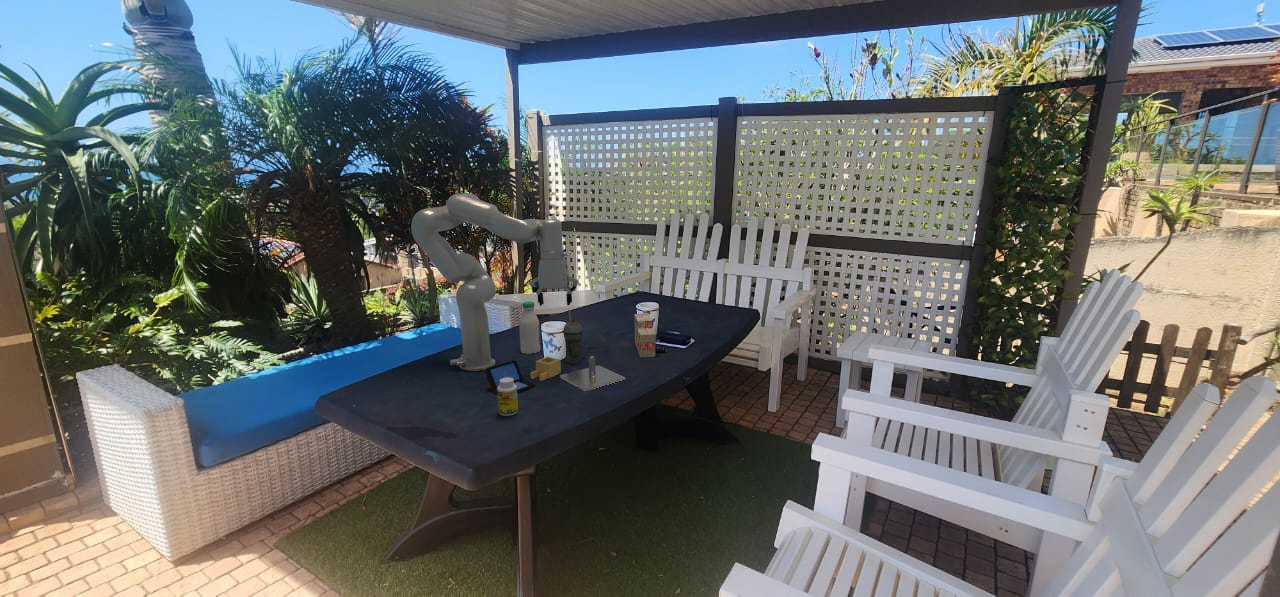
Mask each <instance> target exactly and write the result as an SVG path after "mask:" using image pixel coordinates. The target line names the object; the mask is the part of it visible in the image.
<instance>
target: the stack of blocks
mask: <svg viewBox="0 0 1280 597" xmlns="http://www.w3.org/2000/svg"><path fill="white" fill-rule="evenodd" d="M633 316H634V324H633V325H634V343H635V348H636V349H637V352H638V356H639V358H655V357H656V342H657V339H656V338H657V337H656V336H657V334H656V332H655V330H654V328H653V327H654V325H653V323H654V321H653V319H652V317H651V315H650V313H635V314H633Z"/></svg>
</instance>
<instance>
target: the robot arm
mask: <svg viewBox="0 0 1280 597" xmlns="http://www.w3.org/2000/svg"><path fill="white" fill-rule="evenodd" d="M445 203H446V204H445V205H442V206H436V207H427V208H426V207H425V208H423V209H421V210H418V211H417V212H416V213H415V215H414V216H413V218H412V220H411V227H410V229H411V235H412V236H413V239H414V241H415V242H416V243H417V245H418V246H419V248H420V249H421V250H422V251H423V252H424V253H425V255H426V256H427V257H428V259H430V261H431V263H432V264H433V265H434V267H435V268H436V269H437V271H438V272H439V273H440V274H441V276H442V277H443V278H444V279H445V280H446V281H447V282H449V283H453V284H455V283H459V282H463V283H462V284H460V285H459V287H458V288H457V289H456V293H455V300H456V305H457V307H458V312H459V313H458V314H459V320H460V321H459V322H460V331H461V344H462V354H460V357H458V358H454V359H450V360H449V364H450V366H454V365H456V366H457V367H458V366H459V369H460V368H461V369H460V370H462V369H463V370H462V371H465V370H467V371H466V372H481V371H485V370H486V369H487V368H490V367H493V366H496V360H495V359H494V358H492V356H491V342H490V328H489V316H488V313H487V309H486V305H485V303H487V302H489V301H491V300H492V299H493V298H494V297H495V296H496V292H497V288H496V285H495V284H496V283H495V282H494V280H493V279H492V277H491V276H490V275H489V274H488V272H487V271H486V270H485V268H484V267H483V266H482V264H481V263H480V262H479V260H478V259H477V258H476V257H474V256H473V255H471V254H470V253H467V252H466V253H465V252H462V253H457V252H456V250H455V249H454V248H453V247H452V246H451V244H450V243H449V242H448V241H447V240H446V239H445V238H444V237H443V236H441V235H440V233H439V232H443V231H448V230H451V229H454V228H455V227H458V226H460V225H461V224H463V223H469V224H472V225H475V226H478V227H481V228H484V229H487V231H489V232H491V233H492V234H495V235H496V236H499V237H501V238H503V239H506V240H508V241H511V242H514V243H518V244H527V243H530V242H534V241H538V240H539V243H540V259H539V263H538V270H537V272H538V274H537V275H538V276H537V277H535V278H533V279H532V280H530V281H528V285H529V286H530V288H531V290H532V291H533V292H534V293H535V294H536V295H537V303H538V304H539V306H541V307H542V306H543V305H544V304H545V303H544V293H543V290H562V289H563V290H564V291H565V292H567V293H566V306H570V305H571V303H573V295H572V293H573V292H574V291H575V290H576V288H577V287H578V284H579V282H580V281H579V279H576V278H575V277H572V276H571V275H570V274H569V267H568V262H567V259H566V258H565V257H567V256H568V252H566V251H565V250H564V246H563V244H564V243H563V229H562V228H563V225H562V221H561V220H560V219H557V218H556V219H555V218H553V219H552V218H549V219H536V218H526V219H518V218H516V217H515V218H514V217H512V216H509V215H506V214H504V213H503V212H501V211H500V210H499V209H498V206H497V205H495V204H492V203H489V202H486V201H483V200H481V199H480V198H479V197H478V196H477V195H476V194H473V193H469V192H465V193H464V192H463V193H455V194H452V195H450V197H449V198H448V199H447V201H446V202H445ZM537 282H538V287H537V286H536V284H535V283H537ZM570 282H571V283H572V284H573V285H572V286H570ZM480 370H481V371H480Z"/></svg>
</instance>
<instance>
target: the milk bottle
mask: <svg viewBox="0 0 1280 597" xmlns="http://www.w3.org/2000/svg"><path fill="white" fill-rule="evenodd" d="M521 305H522V306H521V307H522V314H521V317H520V319H519V342H520V344H519V345H520V353H522V354H524V353H525V355H533V354H532V353H534V354H538V353H540V352H541V335H540V334H541V333H540V331H541V330H540V322H539V318H538V316H537V314H536V312H535V302H534V301H529V300H528V301H523V302H522V303H521ZM537 352H538V353H537Z"/></svg>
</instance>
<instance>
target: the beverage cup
mask: <svg viewBox="0 0 1280 597" xmlns="http://www.w3.org/2000/svg"><path fill="white" fill-rule="evenodd" d="M567 312H568V318H569V321H567V322H566V323H565V324H564V326H563V330H562V333H563V337H564V342H565V350H566V359H567V362H568V363H569V364H578V363H579V362H580V361H581V354H582V352H581V350H582V337H583V328H582V327H583V326H582V325H581V324H580V323H579V322H578V321H576V320H572V316H571V310H570V309H567Z"/></svg>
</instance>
